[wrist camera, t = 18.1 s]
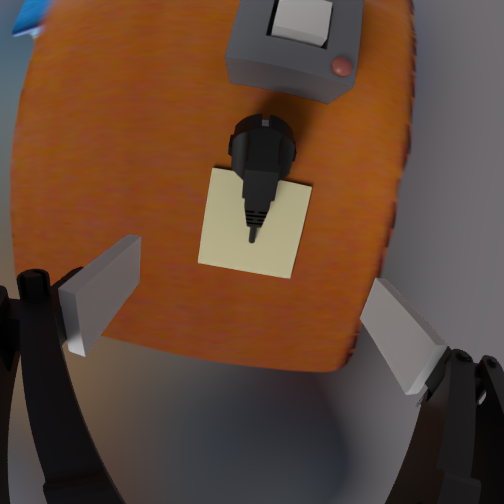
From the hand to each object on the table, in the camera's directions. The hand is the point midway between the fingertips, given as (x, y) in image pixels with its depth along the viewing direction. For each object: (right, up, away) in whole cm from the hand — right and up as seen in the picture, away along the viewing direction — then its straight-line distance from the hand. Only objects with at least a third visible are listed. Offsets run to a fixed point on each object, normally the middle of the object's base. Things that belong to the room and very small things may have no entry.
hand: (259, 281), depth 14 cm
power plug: (0, +5, +16) cm, 16 cm away
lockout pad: (0, +4, +14) cm, 15 cm away
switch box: (+3, +22, +8) cm, 24 cm away
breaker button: (+3, +21, +4) cm, 21 cm away
